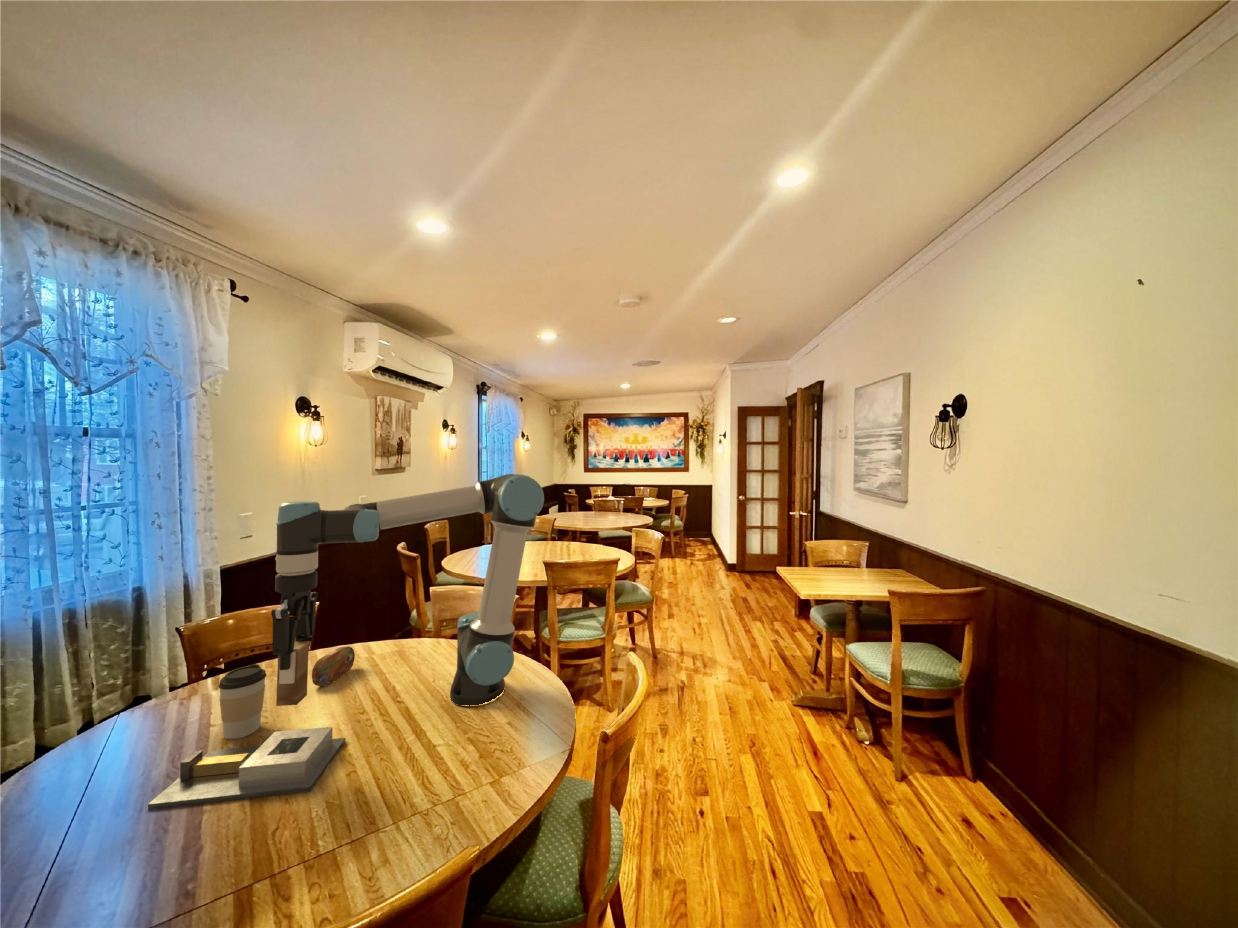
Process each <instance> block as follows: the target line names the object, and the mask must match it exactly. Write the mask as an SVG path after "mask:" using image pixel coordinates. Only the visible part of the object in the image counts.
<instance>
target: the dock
mask: <svg viewBox="0 0 1238 928" xmlns="http://www.w3.org/2000/svg"><path fill="white" fill-rule="evenodd" d="M345 744H346V737H341V738H333V726H325V727H316V728H315V727H314V728H306V729H305V728H304V729H294V730H293V729H292V730H291V729H290V730H284V731H283V730H282V731H274V732H273V733H272V734H271V735H270V736H269V737H268V738H267V739H266V740H265V741H264V742H263V743H262V744H261V745H254V746H253V745H252V746H244V747H243V746H242V747H241V746H240V747H231V748H221V749H210V750H209V751H208V752H207V753H206V754H204V756H203V758H204V757H215V756H225V755H236V754H246V753H248V759H247V760H246V761H245V762H244V763H243V764H242V765H241V766H240V767H239V772H237V773H227V774H217V775H207V776H197V777H191V778H190V779H186V780H180V776H179V777H178V778H177V779H175V780H174V781H173V782H172V783H171V784H170V785H168V787H167V788H165V789H164V790H163V791H161V793H159V794H158V795H157V796H156V797H155V798H153V800H151V801H150V802H149V803H148V804H147V810H155V809H157V810H158V809H165V808H174V807H175V808H176V807H182V806H192V805H193V806H194V805H201V804H202V805H203V804H208V803H209V804H210V803H219V802H228V801H229V802H230V801H237V800H238V801H239V800H246V799H253V798H254V799H255V798H263V797H272V796H280V795H290V794H291V795H292V794H299V793H308V792H309V793H310V792H312V790H313V789H314V787H315V786H316V784H317V783H318V782H319V780H320V778H321V777H322V776H323V774H324V773H325V772H326V770H327V769H328V768H329V766H330V765H331V763H332V762H333V761H334V759H335V758H336V756H337V754H338V753H339V751H340V750H341V749H342V748H343V746H344V745H345Z"/></svg>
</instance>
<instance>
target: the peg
mask: <svg viewBox="0 0 1238 928" xmlns="http://www.w3.org/2000/svg"><path fill="white" fill-rule="evenodd" d="M310 642H311V641H297V642H296V641H295V642H294V649H293V652H296V663H295V682H294V683H292V684H279V667H280V655H277V670H276V671H277V674H276V676H277V677H276V678H277V679H276V701H275V707H284V706H297V705H298V704H299V703H300V702H302V701H303V700H304V699H305V698H306V697H307V696H308V676H309V675H308V673H309V671H308V669H309V649H310V647H309V646H310Z"/></svg>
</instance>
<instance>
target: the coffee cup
mask: <svg viewBox="0 0 1238 928" xmlns="http://www.w3.org/2000/svg"><path fill="white" fill-rule="evenodd" d="M266 677H267V673H266V670H265V669H264V668H261V666H260V665H259V664H257V663H252V664H250V665H248V666H247V665H246V666H241V667H237V668H235V669H233V670H230V671H228V672H227V673H225V676H223V677H222V678H221V679H220V681H219V683H218V686H217V688H219V697H218V698H219V703H220V704H219V705H220V714H221V715H220V716H221V721H222V729H223V738H224V739H227V740H236V739H241V738H243V737H244V738H245V737H247V736H249V735H251V734H253V733H255V732H256V731H258V730H259V729H260V728H261V721H262V711H263V707H264V699H265V690H266V684H265V681H266Z"/></svg>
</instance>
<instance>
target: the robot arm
mask: <svg viewBox="0 0 1238 928" xmlns="http://www.w3.org/2000/svg"><path fill="white" fill-rule="evenodd" d="M544 494H545V493H544V490H543V488H542V487H541V485H540V483H539V482H538V481H537V480H536V479H534V478H532V477H531V476H529V475H525V474H518V473H517V474H515V473H514V474H513V473H511V474H510V473H509V474H504V475H501V476H498V477H493V478H489V479H486V480H481V481H480V480H479V481H477V482H475V484H474V485H472V486H464V487H460V488H458V487H457V488H453V489H446V490H440V491H434V492H428V493H422V494H417V495H408V496H404V497H398V498H389V499H386V500H380V501H375V502H368V503H367V502H366V503H355V504H354V503H353V504H350V505H348V506H347V507H345V508H344V509H337V510H335V509H334V510H327V509H326V510H324V509H321V507H320V503H319V502H318V501H312V500H311V501H305V500H303V501H299V500H298V501H288V502H283V503H281V504H280V505H279V507H278V510H277V511H278V513H277V522H276V556H275V558H274V560H275V572H276V573H277V574H276V575H275V579H274V580H275V582H274V591H275V592H276V593H279V594H280V595H281V599H280V601H279V602H280V603H279V605H280V606H279V607H278V608H272V610H271V613H270V614H271V619H272V653H271V654H272V656H278V655H280V667H279V684H292V683H294V682H295V663H296V652H293V649H294V642H297V641H310V642H313V641H314V639H315V637H314V636H315V630H316V609H317V607H316V606H317V599H318V593H319V592H316V591H313V592H312V591H311V590H314V589H315V588H317V586H318V571H317V569H318V568H319V545H320V544H341V543H342V544H343V543H345V544H346V543H359V544H361V543H364V542H375V541H376V540H378V538H379V534H380V533H379V532H380V531H381V530H387V529H392V528H398V527H402V526H407V525H413V524H414V525H415V524H418V523H424V522H428V521H429V522H430V521H435V520H439V519H444V518H446V519H447V518H450V517H456V516H457V517H458V516H463V515H467V514H473V513H480V514H482V515H485V514H487V515H488V514H491V519H490V522H491V523H492V525H493V527H494V533H493V538H492V543H491V547H490V548H491V549H490V553H489V557H488V558H489V559H488V563H487V568H486V575H485V577H484V584H483V589H482V595H481V598H480V603H479V604H480V605H479V609H478V611H477V612H471V613H466V614H463V615H461V616H459V618H458V619H457V626H456V629H457V649H456V650H457V651H456V652H457V653H456V654H457V655H456V661H457V662H456V663H457V664H456V671H455V675H454V678H453V681H452V683H451V687H450V690H449V693H450V695H449V696H450V697H449V699H450V698H451V699H450V701H451V702H452V701H453V702H454V703H455V704H454V703H453V702H452V703H453V704H454V705H456V704H458V705H469V706H470V705H479V704H483V703H485V702H489V701H491V700H492V699H495V698H496V697H497V696H499V695H500V694H501V693H502V692H503V690H504V688H505V689H506V682H505V678H506V677H508V676H509V674H510V673H511V670H512V668H513V666H514V662H515V654H514V650H513V648H512V645H513V641H514V635H515V630H516V628H515V626H514V625H513V623H512V615H513V610H514V603H515V599H516V595H517V589H518V583H519V577H520V573H521V568H522V562H523V558H524V553H525V548H526V547H525V546H526V541H527V535H528V533H529V532H530V531H531V530H532V529H534V528H535V523H536V518H537V516H538V514H539V513H540V512H541V511H542V509H543V507H544V503H545V495H544ZM458 705H457V706H458Z"/></svg>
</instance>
